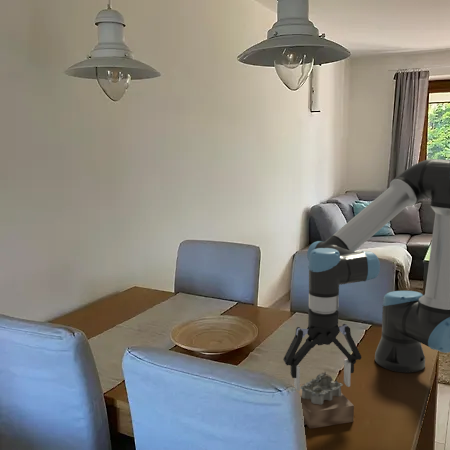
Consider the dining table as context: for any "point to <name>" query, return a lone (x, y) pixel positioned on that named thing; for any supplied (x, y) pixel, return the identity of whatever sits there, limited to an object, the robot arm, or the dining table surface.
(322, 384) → the egg carton
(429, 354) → the dining table surface
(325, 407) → the tan flat block
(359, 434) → the dining table surface
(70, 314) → the dining table surface
